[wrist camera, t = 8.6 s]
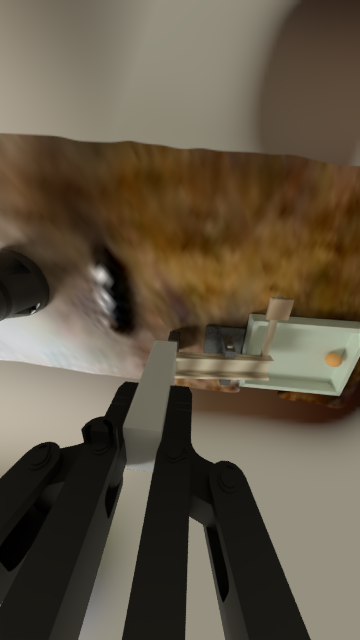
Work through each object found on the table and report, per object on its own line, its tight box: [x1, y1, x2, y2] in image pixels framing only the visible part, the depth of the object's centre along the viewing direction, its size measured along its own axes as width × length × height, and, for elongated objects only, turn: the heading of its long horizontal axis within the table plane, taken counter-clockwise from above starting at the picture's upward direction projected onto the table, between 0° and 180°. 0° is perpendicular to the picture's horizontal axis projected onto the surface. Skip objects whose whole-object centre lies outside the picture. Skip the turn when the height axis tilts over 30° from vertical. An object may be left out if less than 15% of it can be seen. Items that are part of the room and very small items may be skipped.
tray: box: [238, 313, 360, 396], centre depth 48 cm, size 24×18×4 cm
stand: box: [168, 325, 245, 385], centre depth 46 cm, size 18×10×9 cm, turn 87°
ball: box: [325, 353, 342, 367], centre depth 47 cm, size 3×3×3 cm
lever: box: [175, 296, 294, 381], centre depth 40 cm, size 22×18×3 cm
